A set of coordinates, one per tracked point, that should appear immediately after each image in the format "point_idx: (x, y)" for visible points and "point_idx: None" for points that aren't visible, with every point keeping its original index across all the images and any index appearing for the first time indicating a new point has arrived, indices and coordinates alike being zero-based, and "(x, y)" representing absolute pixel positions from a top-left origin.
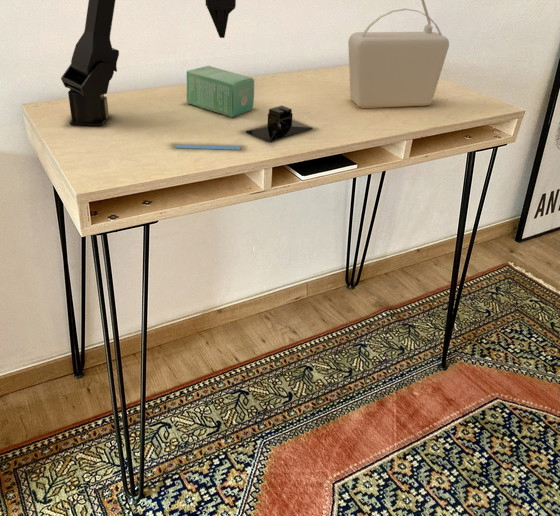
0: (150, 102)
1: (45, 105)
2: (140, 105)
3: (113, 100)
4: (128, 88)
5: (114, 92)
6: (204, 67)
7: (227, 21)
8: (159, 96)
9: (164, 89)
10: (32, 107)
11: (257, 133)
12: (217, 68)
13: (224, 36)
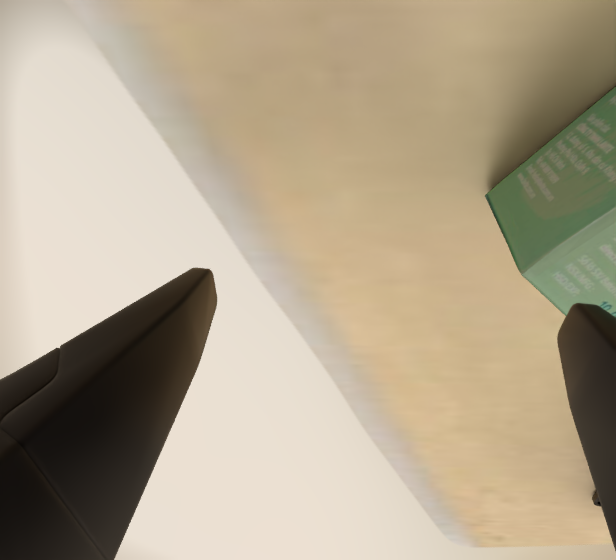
0: (511, 371)
1: (493, 529)
2: (539, 393)
3: (473, 441)
4: (356, 412)
5: (396, 437)
6: (579, 299)
7: (169, 308)
8: (445, 349)
9: (362, 334)
10: (503, 542)
11: None
12: (612, 228)
13: (605, 311)
